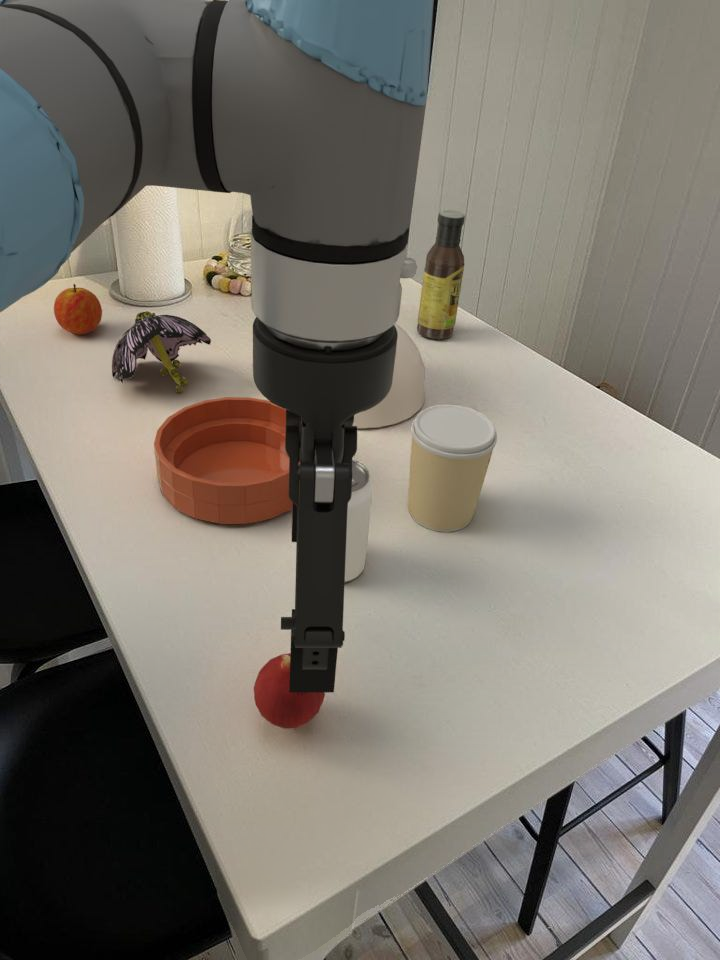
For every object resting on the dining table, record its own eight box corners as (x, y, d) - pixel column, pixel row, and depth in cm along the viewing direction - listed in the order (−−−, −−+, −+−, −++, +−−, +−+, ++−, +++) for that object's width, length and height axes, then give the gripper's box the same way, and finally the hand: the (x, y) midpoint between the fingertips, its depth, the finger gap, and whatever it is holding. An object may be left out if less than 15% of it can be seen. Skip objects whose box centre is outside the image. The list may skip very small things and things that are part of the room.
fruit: (55, 325, 119) (46, 276, 115) (100, 319, 122) (93, 272, 117) (61, 344, 114) (52, 295, 110) (108, 338, 117) (101, 289, 112)
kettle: (307, 440, 99) (311, 311, 88) (270, 365, 114) (270, 248, 103) (448, 421, 105) (468, 299, 94) (394, 352, 120) (407, 241, 109)
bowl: (149, 528, 83) (143, 485, 79) (169, 435, 97) (165, 395, 94) (315, 528, 85) (316, 485, 81) (310, 437, 99) (311, 398, 95)
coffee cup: (496, 521, 88) (516, 436, 81) (432, 546, 84) (447, 458, 76) (447, 478, 94) (462, 395, 87) (385, 500, 90) (395, 414, 82)
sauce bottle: (451, 344, 124) (470, 223, 112) (413, 338, 125) (428, 217, 113) (455, 328, 129) (473, 210, 117) (419, 322, 130) (434, 205, 118)
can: (337, 536, 84) (343, 447, 77) (377, 567, 80) (387, 477, 73) (292, 560, 80) (293, 470, 73) (331, 595, 77) (337, 503, 69)
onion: (318, 687, 67) (321, 626, 63) (326, 743, 63) (331, 683, 58) (252, 693, 66) (251, 632, 62) (256, 751, 62) (255, 690, 57)
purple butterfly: (184, 288, 111) (199, 300, 97) (214, 361, 116) (232, 382, 102) (89, 324, 108) (90, 342, 95) (124, 397, 113) (130, 424, 100)
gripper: (431, 462, 29) (380, 771, 42) (378, 237, 49) (354, 493, 62) (235, 457, 28) (244, 773, 41) (262, 230, 48) (262, 491, 61)
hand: (310, 605), depth 51 cm, fingers open, 13 cm apart
